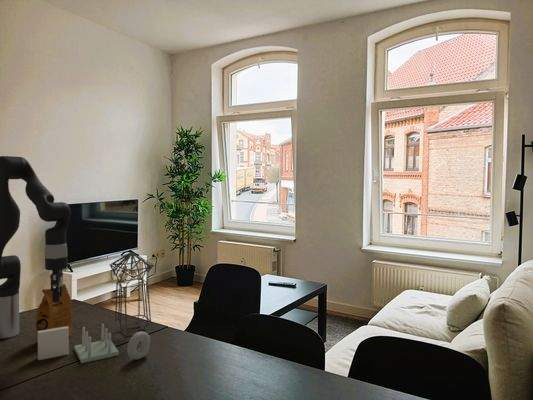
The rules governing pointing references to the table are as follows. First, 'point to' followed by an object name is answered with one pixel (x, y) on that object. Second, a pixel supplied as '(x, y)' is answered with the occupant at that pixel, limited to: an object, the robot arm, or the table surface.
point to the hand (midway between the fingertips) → (57, 299)
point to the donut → (134, 342)
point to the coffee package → (54, 312)
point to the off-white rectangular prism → (53, 342)
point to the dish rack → (96, 347)
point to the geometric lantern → (131, 286)
